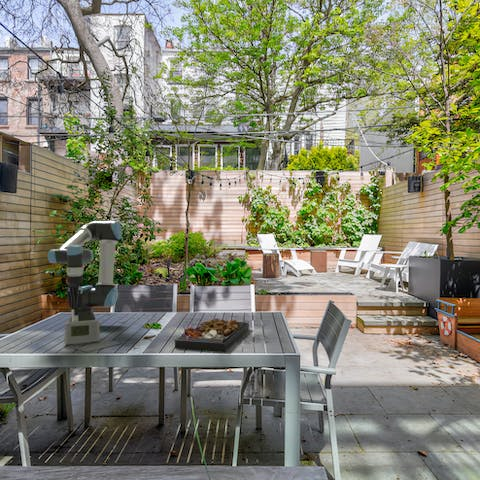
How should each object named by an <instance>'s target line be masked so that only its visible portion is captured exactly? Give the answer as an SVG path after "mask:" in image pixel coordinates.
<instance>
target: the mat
mask: <svg viewBox="0 0 480 480" xmlns="http://www.w3.org/2000/svg"><path fill="white" fill-rule="evenodd" d="M117 344H118V345H120V344H122V343H121V342H118V341H114V340H111V339H107V340H102V341H98V342H93V343H89V344H87V345H83V346H78V347H75V350H76V349H77V350H76V351H80V352H83V351H84V353H91V351H92V352H95V350H96V351H99V350H102V348H103V349H106V347H107V348H109V347H113V346H117ZM98 349H99V350H98Z"/></svg>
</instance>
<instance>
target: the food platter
mask: <svg viewBox="0 0 480 480" xmlns="http://www.w3.org/2000/svg"><path fill="white" fill-rule="evenodd" d="M182 326H183V328H184V331H183V334H182V335H181V336H179V337H178V338H176V339H175V340H174V349H178V348H179V349H180V350H194V351H204V350H207V351H206V352H217V351H222V352H221V353H225V352H226V351H227V350H229V349H230V348H231V347H232V346H233V345H234V344H235V343H236V342H237V341H239V339H240V338H241V337H242V336H244V335H245V334H246V333H247V332H248V331H249V330H250V323H249V322H245V321H237V319H232V320H230V321H228V320H227V321H226V320H225V319H220V318H218V317H217V318H215V319H214V318H213V319H209V320H207V321H203V322H201V323H200V325H199V326H197V327H193V326H189V327H188V328H185V325H184V324H182Z"/></svg>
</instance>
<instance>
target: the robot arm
mask: <svg viewBox="0 0 480 480" xmlns="http://www.w3.org/2000/svg"><path fill="white" fill-rule="evenodd" d="M122 237H123V230H122V225H121V224H120V222H119V221H116V220H114V221H113V220H104V221H101V220H95V221H90V222H88V223H85V224H84V225H81V226H80V227H79V228H77V230H76V233H74V234H73V235H72V236H71V237H70V238H68V240H66V241H65V242H64V243H63V244H62V245H61V246H59V247H58V248H57V249H55V248H54V249H53V248H52V249H49V251H47V261H48V262H49V263H50V264H66V275H67V276H66V283H67V284H68V288H66V289H65V291H66V295H67V303H68V308H70V309H71V313H70V314H71V315H70V317H69V321H68V322H74V321H87V320H97V319H96V317H95V314H94V311H93V308H111V307H114V306H115V305H116V304H117V301H118V298H119V289H118V288H117V287H116V284H115V282H114V275H115V274H114V273H115V272H114V271H115V260H116V259H115V257H116V256H115V255H116V245H117V244H118V243H119V240H121V239H122ZM91 240H98V242H99V244H100V255H99V256H100V257H99V269H98V281H97V283H96V284H95V287H94V286H93V285H91V284H90V285H83V286H82V285H81V284H83V282H84V277H83V275H84V265H83V264H88V263H91V262H92V261H93V259H94V255H95V254H94V253H93V251H92V250H90V249H88V248H84V247H83V245H84V244H85V243H88V242H90V241H91Z"/></svg>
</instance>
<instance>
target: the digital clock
mask: <svg viewBox="0 0 480 480" xmlns="http://www.w3.org/2000/svg"><path fill="white" fill-rule="evenodd" d="M100 332H101V331H100V320H99V319H96V320H87V321H74V322H69V321H67V322H65V323H64V345H65V346H69V345H73V346H74V345H82V344H83V345H84V344H93V343H98V342H100V340H101V339H100Z"/></svg>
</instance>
